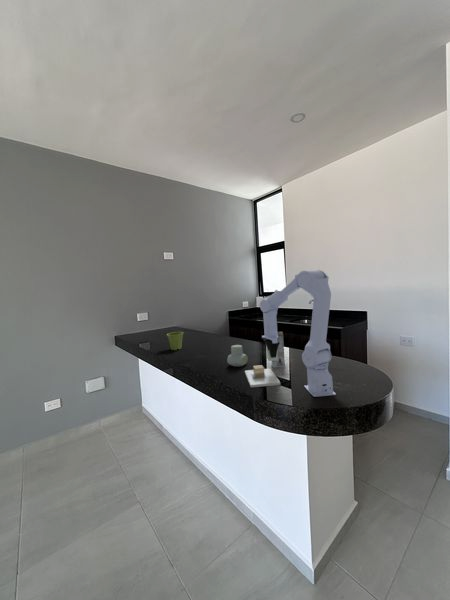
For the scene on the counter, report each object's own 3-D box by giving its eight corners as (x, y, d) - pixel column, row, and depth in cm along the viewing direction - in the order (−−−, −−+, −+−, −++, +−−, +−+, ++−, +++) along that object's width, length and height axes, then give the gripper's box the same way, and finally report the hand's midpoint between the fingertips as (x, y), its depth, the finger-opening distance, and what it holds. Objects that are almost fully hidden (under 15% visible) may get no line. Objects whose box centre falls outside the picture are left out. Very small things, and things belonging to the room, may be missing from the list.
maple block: (264, 377, 107) (264, 367, 106) (255, 377, 106) (254, 368, 106) (262, 374, 111) (262, 365, 110) (253, 374, 110) (253, 365, 110)
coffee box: (272, 362, 131) (270, 331, 131) (284, 361, 130) (282, 331, 129) (271, 367, 122) (269, 334, 122) (285, 367, 121) (283, 334, 120)
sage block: (278, 360, 110) (277, 351, 110) (269, 360, 110) (268, 351, 110) (275, 357, 114) (275, 349, 114) (267, 358, 114) (266, 349, 114)
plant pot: (164, 349, 178) (163, 334, 177) (178, 346, 186) (177, 331, 185) (173, 352, 169) (172, 335, 168) (187, 348, 177) (186, 332, 176)
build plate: (280, 384, 100) (280, 382, 100) (250, 387, 99) (250, 384, 99) (270, 370, 118) (270, 368, 118) (244, 372, 117) (244, 370, 117)
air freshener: (240, 369, 123) (239, 348, 123) (225, 367, 127) (224, 348, 127) (249, 362, 133) (248, 344, 132) (235, 361, 137) (234, 343, 136)
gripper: (258, 324, 118) (260, 352, 119) (264, 328, 104) (266, 361, 104) (273, 323, 119) (275, 351, 119) (281, 327, 104) (283, 359, 105)
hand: (272, 356), depth 112 cm, fingers closed on sage block, 4 cm apart
